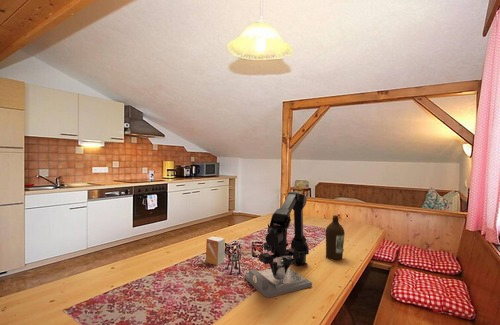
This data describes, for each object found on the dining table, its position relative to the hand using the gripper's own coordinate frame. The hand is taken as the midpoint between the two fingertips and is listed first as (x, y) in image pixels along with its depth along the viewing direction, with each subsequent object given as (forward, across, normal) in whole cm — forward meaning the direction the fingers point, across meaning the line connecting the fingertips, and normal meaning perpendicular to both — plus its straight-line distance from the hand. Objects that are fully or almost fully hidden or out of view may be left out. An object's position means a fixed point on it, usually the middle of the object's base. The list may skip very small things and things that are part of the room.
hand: (279, 274), depth 121 cm
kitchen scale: (+6, -2, -4) cm, 7 cm away
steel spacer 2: (+1, 0, 0) cm, 1 cm away
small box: (+6, +16, -38) cm, 42 cm away
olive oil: (+6, -51, -17) cm, 54 cm away
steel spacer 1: (+2, -8, -9) cm, 12 cm away
